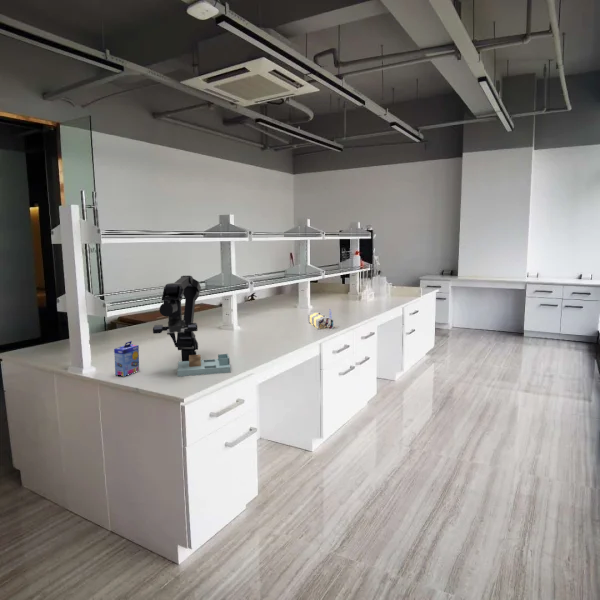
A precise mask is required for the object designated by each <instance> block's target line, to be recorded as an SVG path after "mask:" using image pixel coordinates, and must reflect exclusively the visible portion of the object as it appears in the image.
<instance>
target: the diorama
mask: <svg viewBox="0 0 600 600" xmlns="http://www.w3.org/2000/svg"><path fill="white" fill-rule="evenodd" d="M307 321H308V323H309V324H310V323H311V325H312V326H313V325H314V326H313V327H314V328H316V327H317V329H318V330H321V328H320V323H321V324H323V323H324V322H325V323H324V326H326V327H328V326H329V327H328V328H329V329H331V330H333V328H334V319H333V316H332V310H331V308H329V311H328V316H327V315H325V314H323V313H322V312H319V311H311V312H310V313H308V314H307ZM329 324H330V325H329Z"/></svg>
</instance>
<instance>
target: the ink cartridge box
mask: <svg viewBox="0 0 600 600" xmlns="http://www.w3.org/2000/svg"><path fill="white" fill-rule="evenodd" d="M139 349H140V347H139V345H138V344H134V343H133V344H132V340H130V341H127V342H125V343H124V345H123V346H118V347H115V348H114V349H113V350H114V351H113V353H114V354H113V355H114V372H115V374H114V375H115V376H116V375H121V376H126V375H128V374H131V373H133V374H135V373H134V372H136V371H139V372H140V353H139V351H140V350H139ZM136 373H137V372H136ZM131 375H132V374H131ZM121 376H120V377H121ZM128 376H129V375H128ZM126 377H127V376H126Z"/></svg>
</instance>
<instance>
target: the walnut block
mask: <svg viewBox="0 0 600 600" xmlns="http://www.w3.org/2000/svg"><path fill="white" fill-rule="evenodd" d="M201 360H202V358H201V354H196V355H189V367H194V366H201Z"/></svg>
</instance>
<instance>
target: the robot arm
mask: <svg viewBox="0 0 600 600" xmlns="http://www.w3.org/2000/svg"><path fill="white" fill-rule="evenodd" d="M201 291H202V287H201V285H200V283H199V281H198V280H196V279H194V277H193V276H192V275H181V276H180V278H178V279H176V281H175V282H169V283H166V284H165V285H164V287H163V290H162V297H161V301H163V303H162V304H161V305H160V307H159V309H158V311H159V313H160V315H161V316H163V317H167V319H168V320H167V321H168V322H167V324H168V325H167V326H165V325H164V324H155V325H154V326H153V327H152V333H153V334H155V335H156V334H161V333H162V332H165V331H166V334H167V335H169V336H170V338H171V339H172V342H173V344H174V347H175V348H177V351H181V352H180V353H181V354H180V355H181V361H189V355H197V351H198V350H199V342H198V340H197V338H196V334H195V332H197V331H198V323H197V322H194V315H195V306H196V301H197V300H198V298H199V297H200V293H201ZM183 297H184V299H185V301H184V309H183V311H184V312H183V313H182V299H183Z"/></svg>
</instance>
